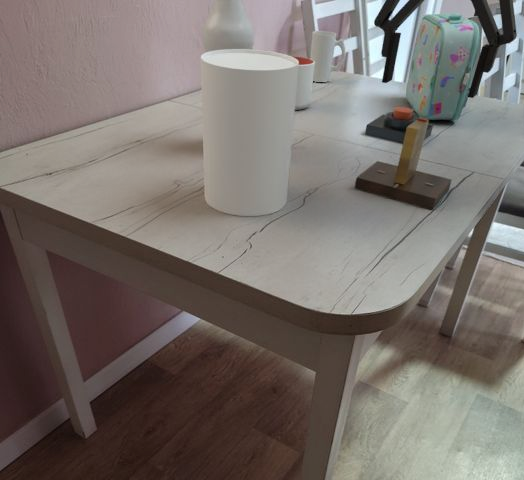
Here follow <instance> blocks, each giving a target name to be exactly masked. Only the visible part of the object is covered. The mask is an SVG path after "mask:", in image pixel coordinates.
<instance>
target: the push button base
mask: <svg viewBox="0 0 524 480" xmlns="http://www.w3.org/2000/svg"><path fill="white" fill-rule="evenodd" d="M393 113H394V111H389V112H387V113H385V114H381V115H380V116H378V117H377V118H375V119H374V120H372V121H370V122H369V123H367V124H366V127H365V132H364V136H368V137H373V138H378V139H381V140H385V141H391V142H395V143H399V144H402V145H403V142H404V138H405V133H406V129H407V127H408V126H409V125H410V124H412V123H413V122H414V121H416V120H417V119H418V118H419V116H418V115H416V114H414V113H412V118H411V119H408V120H406V119H398V118H395V117H393ZM433 128H434V125H433V124H429V123H428V126H427V130H426V134H425V138H424V141H426V140H427V139H428V138H429V137H430V136H432V132H433Z"/></svg>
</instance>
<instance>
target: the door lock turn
mask: <svg viewBox="0 0 524 480" xmlns="http://www.w3.org/2000/svg"><path fill="white" fill-rule="evenodd" d="M429 122H430V120H428V119H426V118H421V117H419V116H418V119H417V120H416V121H414V122H413V123H412V124H410V125H409V126H408V127H407V129H406V133H405V138H404V142H403V144H402V146H401V151H400V155H399V160H398V163H397V166H398V168H397V172H396V176H395V180H394V182H395V183H399V184H403V185H404V184H405V183H406V182H407V181H408V180H409V179H410V178H411V177H413V176H414V175H415V172H416V171H417V168H418V165H419V160H420V156H421V153H422V148H423V146H424V142H425V140H424V138H425V134H426V130H427V126H428V124H429Z"/></svg>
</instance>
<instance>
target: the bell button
mask: <svg viewBox="0 0 524 480" xmlns="http://www.w3.org/2000/svg"><path fill="white" fill-rule="evenodd" d="M393 112H394V113H393V117H395V118H398V119H406V120H408V119H411V118H412V114H414V111H413V110H412V108H410V107H405V106H397V107H394V109H393Z"/></svg>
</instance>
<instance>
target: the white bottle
mask: <svg viewBox="0 0 524 480" xmlns="http://www.w3.org/2000/svg"><path fill="white" fill-rule="evenodd" d="M202 43H203V47H204V50H205V52H204V53H206V52H210V51H215V50H224V49H251V50H253V47H254V43H255V29H254V26H253V24H252V22H251V20H250V18H249V17H248V14H247V13H246V10H245V4H244V0H213V4H212V7H211V11H210V13H209V15H208V16H207V18H206V20H205V21H204V23H203V26H202Z"/></svg>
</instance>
